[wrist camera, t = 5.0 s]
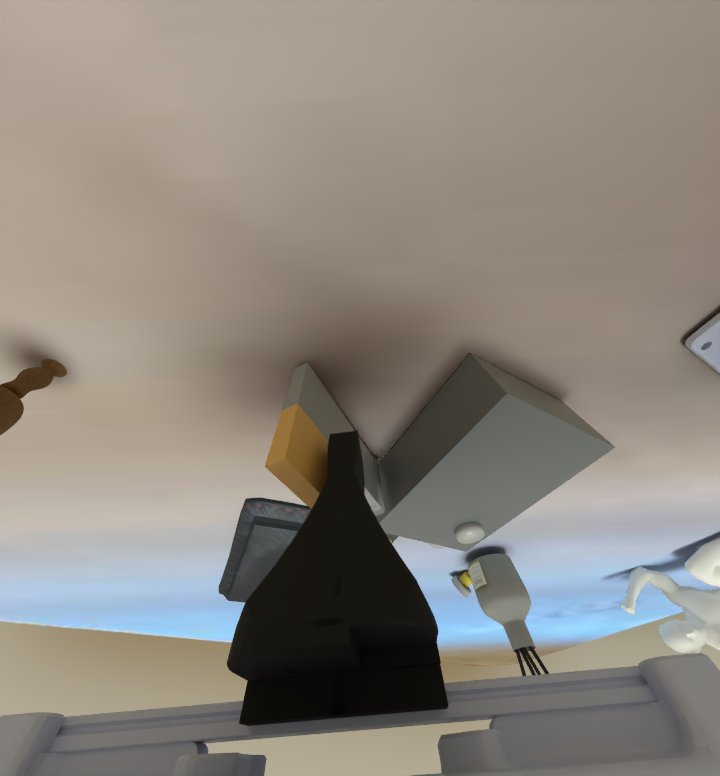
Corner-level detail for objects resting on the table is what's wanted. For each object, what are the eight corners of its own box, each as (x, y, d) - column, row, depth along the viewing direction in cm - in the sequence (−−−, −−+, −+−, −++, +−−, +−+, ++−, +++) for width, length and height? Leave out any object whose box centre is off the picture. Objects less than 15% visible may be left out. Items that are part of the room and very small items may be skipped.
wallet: (242, 508, 20) (415, 540, 24) (249, 486, 21) (411, 520, 25) (207, 606, 29) (335, 617, 33) (214, 586, 31) (335, 599, 35)
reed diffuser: (490, 532, 26) (749, 1085, 10) (544, 540, 28) (844, 1026, 11) (439, 576, 31) (550, 986, 15) (487, 581, 33) (635, 955, 16)
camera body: (562, 402, 17) (623, 454, 13) (442, 507, 23) (461, 563, 19) (470, 352, 15) (513, 400, 11) (362, 484, 21) (367, 543, 17)
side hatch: (309, 360, 14) (288, 456, 9) (380, 464, 19) (396, 567, 14) (292, 369, 14) (261, 467, 9) (366, 469, 19) (376, 572, 14)
